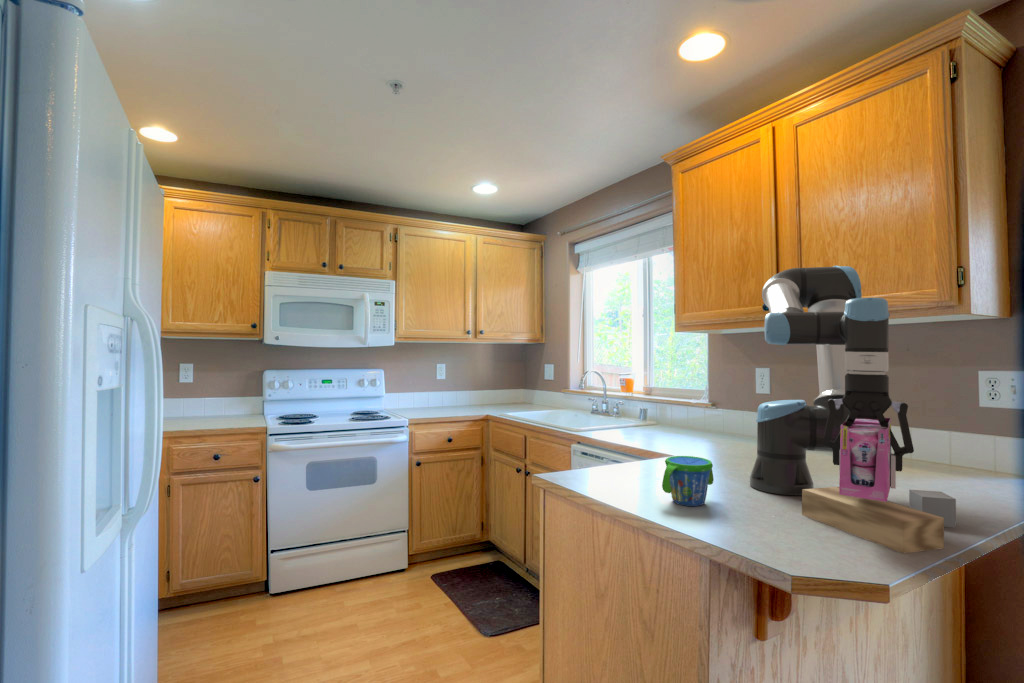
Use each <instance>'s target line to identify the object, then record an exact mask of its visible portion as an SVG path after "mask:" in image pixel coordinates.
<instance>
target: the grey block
mask: <svg viewBox="0 0 1024 683" xmlns="http://www.w3.org/2000/svg"><path fill="white" fill-rule="evenodd" d="M908 493H909V494H908V496H909V498H908V507H909V508H912V509H916V510H919V511H922V512H926V513H929V514H933V515H936V516H939V517H943V518H944V528H945V527H946V528H947V527H948V528H957V514H956V513H957V505H956V504H957V500H956V498H954V497H953V496H952V495H949V494H947V493H945V492H942V491H939V490H938V491H937V490H935V491H934V490H923V489H922V490H921V489H909V490H908Z"/></svg>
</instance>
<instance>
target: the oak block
mask: <svg viewBox="0 0 1024 683" xmlns="http://www.w3.org/2000/svg"><path fill="white" fill-rule="evenodd" d="M801 500H802V501H801V515H802V516H804V517H808V518H809V517H810V519H812V520H815V521H817V522H821V523H823V524H826V525H827V526H831V527H833V528H836V529H839V530H841V531H844V532H846V533H849V534H851V535H855V536H856V537H860V538H862V539H865V540H868V541H870V542H873V543H874V544H878V545H880V546H883V547H885V548H889V549H891V550H894V551H895V552H899V553H901V554H906V553H908V554H909V553H915V552H924V551H925V552H926V551H932V550H939V549H940V550H941V549H945V527H944V518H943V517H939V516H936V515H933V514H929V513H926V512H922V511H919V510H916V509H912V508H909V506H905V505H901V504H899V503H894V502H892V501H891V502H890V501H888V500H887V502H883V501H878V500H871V499H865V498H858V497H851V496H845V495H840V494H839V486H830V487H817V488H815V487H814V488H813V489H802V495H801Z"/></svg>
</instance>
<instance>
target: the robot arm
mask: <svg viewBox="0 0 1024 683" xmlns="http://www.w3.org/2000/svg"><path fill="white" fill-rule="evenodd" d="M862 296H863V293H862V283H861V278H860V275H859V274H858V271H857V270H856V269H855V268H854V267H852V266H847V265H846V266H844V265H841V266H840V265H833V266H821V267H820V266H817V267H814V266H813V267H793V268H789V269H785V270H782V271H780V272H778V273H775V274H774V275H772V276H771V277H770V278H769V279H768V280H767V281H766V282H765V283H764V285H763V287H762V289H761V297H762V302H763V304H764V305H765V306H766V307H767V308H768V310H769V313H767V314H766V315H765V317H764V340H765V342H766V343H767V344H769V345H779V346H787V345H788V346H792V345H793V346H795V345H796V346H807V345H809V346H811V345H815V346H816V358H817V360H816V361H817V376H818V390H819V394H818V396H817V397H815V398H814V399H813V405H808V404H807V401H806V400H804V399H782V400H772V401H771V400H770V401H767V402H766V401H765V402H763V403H760V404H759V405H758V407H757V416H756V420H755V421H756V423H757V424H756V426H757V427H756V428H757V430H756V431H757V433H756V436H757V437H756V459H755V461H754V464H753V467H752V470H751V472H750V475H749V486H750V487H751V488H753V489H754V490H758V491H762V492H766V493H771V494H774V495H775V494H776V495H784V496H802V489H813V488H815V487H814V486H815V485H814V481H813V478H812V475H811V471H810V470H809V466H808V463H807V451H813V452H825V453H832V463H833V465H834V466H838V480H839V481H840V433H841V425H842V424H843V423H844V422H845V421H846V423H845V426H847V427H849V426H852V424H853V422H854V421H855V419H856V417H857V418H870V419H878V421H879V423H880V425H881V426H882V427H888V423H887V421H886V419H885V418H886V417H885V415H884V414H885V413H886V412H887V411H888V409H889V408H891V407H893V411H894V412H895V413H896V414H897V418H898V423H899V428H900V432H901V436H902V438H901V439H902V442H903V446H901V447H900V445H899V442H898V441H897V438H896V437H895V435H894V433H893V431H892V428H891V429H890V444H891V449H892V450H893V452H891V453H890V489H895V490H896V486H897V485H896V484H897V481H896V480H897V479H896V478H897V476H896V474H897V473H896V472H902V471H903V457H904V455H907V454H913V453H914V451H915V450H914V449H915V448H914V445H913V440H912V435H911V430H910V427H909V422H908V417H907V413H908V408H909V404H908V403H906V402H904V401H901V402H899V401H894V400H892V399H891V398H890V391H889V388H890V386H889V385H890V384H889V383H890V382H889V381H890V379H889V378H890V377H889V375H888V374H886V373H888V372H889V369H890V368H889V365H890V364H889V363H890V362H889V361H890V360H889V331H890V330H889V329H890V328H889V318H890V315H891V314H890V312H889V303H888V300H887V299H886V298H883V297H862ZM804 308H807V311H806V312H805V309H804ZM889 428H890V427H889Z"/></svg>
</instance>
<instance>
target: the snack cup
mask: <svg viewBox="0 0 1024 683" xmlns="http://www.w3.org/2000/svg"><path fill="white" fill-rule="evenodd" d="M664 462H665V465H666V467H665V470H664V472H663V477H662V478H663V479H662V481H661V482H662V484H661V488H662V490H663V492H664V493H667V494H671V499H672V501H673V502H674V503H675V504H678V505H681V506H688V507H699V506H701V505H703V504H704V505H705V502H706V499H707V493H708V487H709V485H713V483H714V474H713V472H714V471H713V466H714V465H713V463H712V461H711V460H709V459H707V458H704V457H700V456H699V457H698V456H693V455H675V456H668V457H666V458H665V460H664Z"/></svg>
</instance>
